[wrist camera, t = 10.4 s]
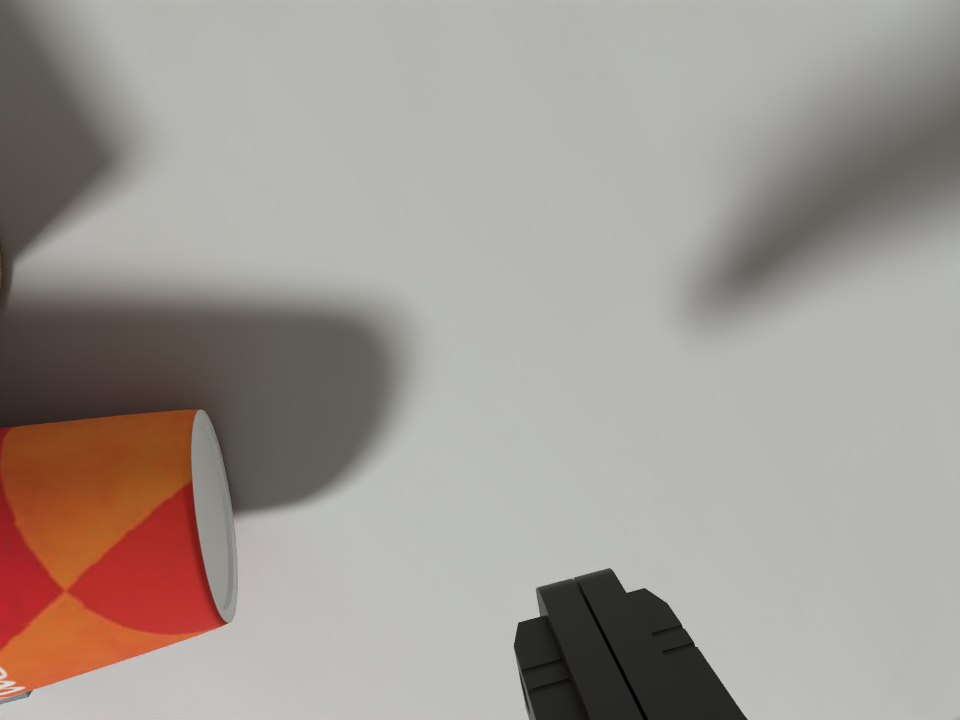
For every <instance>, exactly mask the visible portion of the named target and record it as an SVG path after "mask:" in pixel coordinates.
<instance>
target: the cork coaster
mask: <svg viewBox="0 0 960 720" xmlns="http://www.w3.org/2000/svg"><path fill="white" fill-rule="evenodd" d="M2 276H3V270H2V253H1V247H0V294H1V285H2Z"/></svg>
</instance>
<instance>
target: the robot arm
mask: <svg viewBox="0 0 960 720" xmlns="http://www.w3.org/2000/svg"><path fill="white" fill-rule="evenodd" d="M536 593H537V600H538V605H539V611H540V617H538V618H534V619H530V620H527V621H523V622H519V623H518V627H517V632H516V637H515V643H514V650H515V655H516V660H517V665H518V670H519V675H520V680H521V685H522V690H523V695H524V700H525V705H526V709H527V713H528V716H529V720H748V719H747V718H746V717H745V716H744V714H743V713H742V712H741V710H740V709H739V707H738V706H737V704H736V703H735V701H734V700H733V698H732V697H731V696H730V694H729V693H728V691H727V690H726V688H725V687H724V685H723V684H722V682H721V681H720V679H719V678H718V677H717V675H716V674H715V672H714V671H713V669H712V668H711V666H710V665H709V663H708V662H707V661H706V659H705V658H704V656H703V655H702V653H701V652H700V650H699V649H698V647H695V644H694V642H693V640H692V639H691V637H690V636H689V634H688V633H687V631H686V630H685V629H683V627H682V624H681V623H680V621H679V620H678V618H677V617H676V615H675V614H674V612H673V611H672V610H671V608H670V607H669V605H668V604H667V603H666V602H664V601H663V600H661V599H660V598H659V597H657V596H656V595H654V594H653V593H651V592H650V591H648V590H647V589H645V588H643V589H640V590H636V591H632V592H629V593H626V591H625V590H624V588H623V586H622V585H621V583H620V581H619V580H618V578H617V577H616V575H615V573H614V572H613V571H612V569H610V568H608V569H605V570H601V571H597V572H593V573H590V574H586V575H582V576H578V577H575V578H574V580H573V579H568V580H564V581H560V582H557V583H553V584H549V585H545V586H542V587H538V588H536Z"/></svg>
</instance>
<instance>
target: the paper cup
mask: <svg viewBox="0 0 960 720" xmlns="http://www.w3.org/2000/svg"><path fill="white" fill-rule="evenodd" d="M237 590H238V568H237V550H236V538H235V528H234V519H233V512H232V505H231V498H230V492H229V486H228V481H227V476H226V471H225V466H224V462H223V458H222V454H221V450H220V446H219V443H218V440H217V436H216V433H215V431H214V428H213V425H212V423H211V421H210V419H209V417H208V415H207V414H206V413H205V411H203V410H200V409H189V410H174V411H161V412H151V413H140V414H130V415H119V416H109V417H100V418H90V419H81V420H72V421H62V422H53V423H44V424H34V425H25V426H16V427H7V428H0V700H3V699H6V698H9V697H12V696H15V695H18V694H22V693H25V692H28V691H31V690H34V689H37V688H40V687H43V686H46V685H50V684H53V683H56V682H59V681H62V680H65V679H68V678H71V677H74V676H77V675H80V674H83V673H86V672H89V671H92V670H95V669H99V668H102V667H105V666H108V665H111V664H114V663H117V662H120V661H123V660H126V659H129V658H132V657H135V656H138V655H141V654H144V653H147V652H150V651H153V650H156V649H159V648H162V647H165V646H168V645H171V644H174V643H177V642H180V641H183V640H186V639H189V638H191V637H194V636H197V635H200V634H202V633H205V632H208V631H211V630H213V629H216V628H219V627H221V626H223V625H225V624H228V623H230V622H231V621H232V620H233V617H234V614H235V610H236V604H237Z"/></svg>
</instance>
